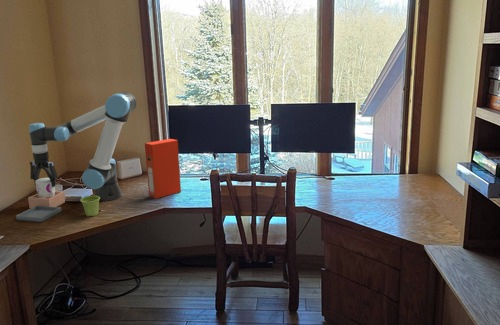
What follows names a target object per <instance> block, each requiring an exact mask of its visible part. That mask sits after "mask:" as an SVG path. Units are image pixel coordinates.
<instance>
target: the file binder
mask: <svg viewBox="0 0 500 325" xmlns="http://www.w3.org/2000/svg"><path fill="white" fill-rule="evenodd" d="M144 148H145V150H144V151H145V152H144V154H145V164H146V175H147V187H148V196H149V197H150V198H152V199H154V200H155V199H156V200H157V199H160V197H161V198H163V197H167V195H168V196H170V195H174V194H177V193H181V192H182V189H181V188H182V186H181V175H180V174H181V173H180V171H181V170H180V160H179V159H180V156H179V140H178V139H173V138H167V139H162V140H161V139H160V140H156V141H150V142H144Z"/></svg>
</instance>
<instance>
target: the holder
mask: <svg viewBox="0 0 500 325" xmlns="http://www.w3.org/2000/svg"><path fill="white" fill-rule="evenodd" d="M27 199H28V200H27V201H28V206H29V209H31V208H33V207H35V206H50V207H60V206H61V205H62V204H64V203H66V202H65V199H66V192H65V191H60V190H59V191H58V190H55V196H53V197H51V198H49V199H46V198H39V197H38V193H35V194H34V195H32V196H31V195H30V196H29V197H27Z"/></svg>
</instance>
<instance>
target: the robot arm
mask: <svg viewBox="0 0 500 325" xmlns="http://www.w3.org/2000/svg"><path fill="white" fill-rule="evenodd" d="M136 108H137V99H136V97H135V96H134V94H132V93H130V92H128V91H127V92H126V91H122V92H119V93H118V92H117V93H113V94H112V95H110V96H109V97H107V99H106V100H105V104H103V105H102V106H100V107H97V108H95V109H92V110H91V111H89V112H87V113H84V114H82V115H80V116H78V117H75V118H73V119H71V120H69V121H67V122H66V123H63V124H59V125H57V126H56V125H55V126H50V127H49V126H45V124H44V123H43V122H34V123H30V124H28V130H29V131H28V132H29V136H30V137H29V138H30V144H31V151H32V158H33V161H29V165H30V180H33V181H34V185H35V188H36V189H35V190H36V193H38V190H37V184H36V183H37V180H38V179H40V174H41V170H43V171H45V173H46V175H47V177H48V178H49V179H50V182H49V183H50V190H51V193H53V192H55V191H56V180H58V179H59V177H58V172H57V171H56V167H55V162H54V161H50V160H49V158H50V155H49V151H48V149H49V148H48V142H66V141H68V140H69V138H70V137H72V136H75V135H76V134H78V133H79V132H83V131H85V130H87V129H89V128H91V127H94V126H95V125H98V124H100V123H102V122H104V121H105V123H104V125H103V129H102V131H101V134H100V138H99V141H98V144H97V146H96V150H95V153H94V156H93V158H92V159H89V163H88V165H87V169H86V170H84V172H83V173H82V176H81V180H82V183H83V185H85V187H87V188H89V189H92V190H94V191H95V192H94V196H99V197H100V199H99V202H103V201H104V202H106V201H114V200H117V199H119V198H121V197H122V196H123V194H122V193H123V192H122V190H121V188H120V186H119V183H118V174H117V164H116V160H115V158H112V156H113V154H114V151H115V149H116V145H117V142H118V139H119V136H120V133H121V131H122V127H123V125H124V124H126V123H127V122H128V119H129V116H130V114H131V113H132V112H134V111H135V109H136Z"/></svg>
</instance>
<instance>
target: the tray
mask: <svg viewBox="0 0 500 325" xmlns="http://www.w3.org/2000/svg"><path fill="white" fill-rule="evenodd" d="M62 212H63V211H62V207H61V206H57V207H50V206H35V207H33V208H29V209H27V210H24V211H23V212H20V213H19V214H16V215H15V219H16V221H24V222H34V223H44V222H45V221H48V220H50V219H51V218H53V217H54V216H56V215H58V214H60V213H62Z"/></svg>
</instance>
